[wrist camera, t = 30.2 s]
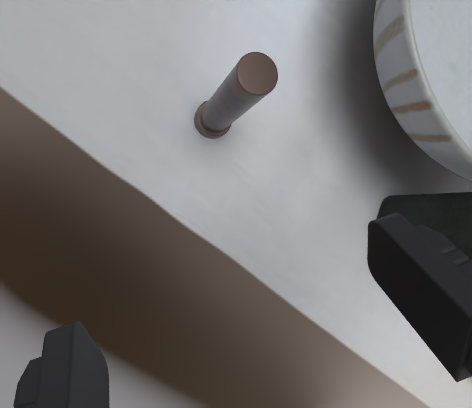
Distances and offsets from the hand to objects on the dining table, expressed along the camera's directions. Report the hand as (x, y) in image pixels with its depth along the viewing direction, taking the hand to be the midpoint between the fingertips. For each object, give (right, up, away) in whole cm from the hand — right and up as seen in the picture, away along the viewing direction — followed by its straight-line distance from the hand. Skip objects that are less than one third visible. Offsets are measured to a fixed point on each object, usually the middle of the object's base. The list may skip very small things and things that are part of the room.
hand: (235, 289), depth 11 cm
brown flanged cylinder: (-2, +9, +22) cm, 24 cm away
